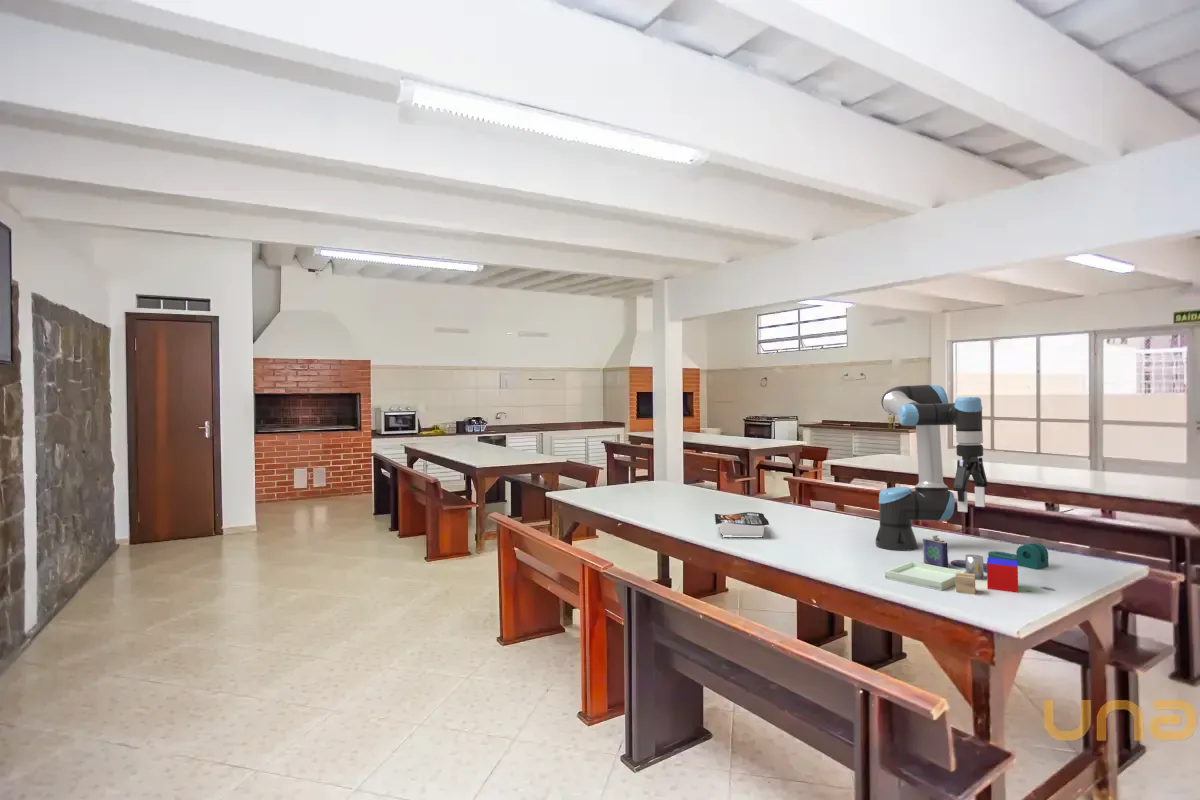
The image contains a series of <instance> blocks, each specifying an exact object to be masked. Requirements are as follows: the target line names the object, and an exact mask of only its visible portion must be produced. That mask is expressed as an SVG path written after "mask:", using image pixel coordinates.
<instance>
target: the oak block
mask: <svg viewBox="0 0 1200 800" xmlns="http://www.w3.org/2000/svg"><path fill="white" fill-rule="evenodd" d="M955 593H959V594H967V595H976V580H975V574H968V573H959V572H956V584H955Z"/></svg>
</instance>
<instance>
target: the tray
mask: <svg viewBox="0 0 1200 800" xmlns="http://www.w3.org/2000/svg"><path fill="white" fill-rule="evenodd" d="M956 572H959V573H966V570H965V571H964V570H959V569H954V568H950V567H948V568H945V567H939V566H934V565H929V564H925V563H924V562H918V561H911V560H910V561H908V562H905V563H903V564H900V565H897V566H894V567H892V568H889V569H887V570H885V571H884V580H885V579H886V580H891V581H895V582H900V583H905V584H908V585H913V586H919V587H923V588H928V589H933V590H935V591H936V590H937V591H940V592H941V591H945V590H946V589H948V588H951V587H952V586H956Z"/></svg>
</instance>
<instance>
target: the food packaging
mask: <svg viewBox="0 0 1200 800" xmlns="http://www.w3.org/2000/svg"><path fill="white" fill-rule="evenodd" d="M714 520H715V521H714V522H715V525H719V529H720V530H719V531H720V534H721V533H722V535H732V536H763V537H764V535H765V534H764V533H765V526H770V522H769V520H768V519H767V518H766V517H765V515H764V513H762V512H755V511H754V512H751V511H749V512H748V511H747V512H746V511H745V512H739V513H734V514H719V513H714ZM722 535H721V536H722Z"/></svg>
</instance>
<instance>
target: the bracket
mask: <svg viewBox="0 0 1200 800" xmlns="http://www.w3.org/2000/svg"><path fill="white" fill-rule="evenodd" d="M987 556H988V557H987V559H988V558H996V559H1006V560H1015V561H1018V567H1023V568H1027V569H1031V570H1035V571H1036V570H1037V571H1038V570H1042V569H1046V568H1049V552H1048V550H1047V548H1046V546H1044V545H1043V544H1041V543H1039V542H1033V543H1027V544H1023V545H1020V546H1018V547H1017V549H1016V554H1014V553H1010V552H1005V551H995V550H993V551H992V550H991V551H988V554H987Z"/></svg>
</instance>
